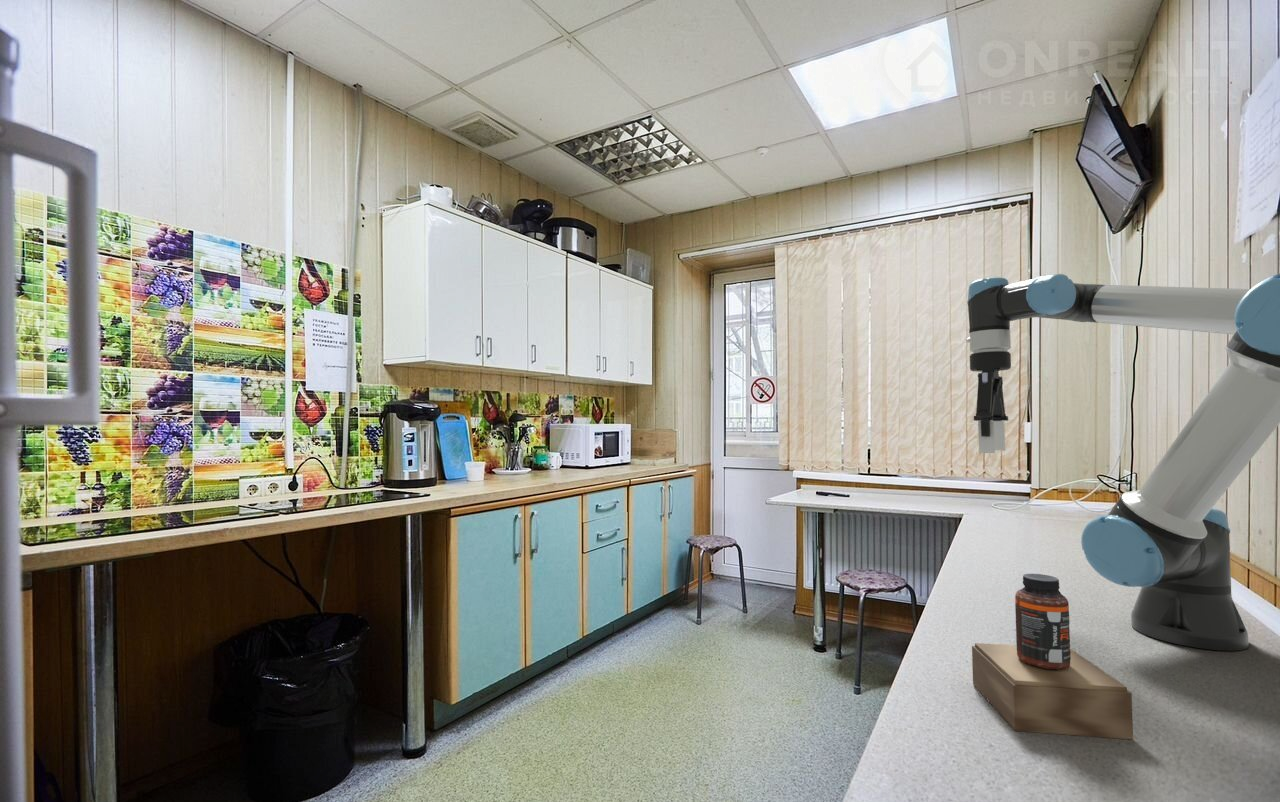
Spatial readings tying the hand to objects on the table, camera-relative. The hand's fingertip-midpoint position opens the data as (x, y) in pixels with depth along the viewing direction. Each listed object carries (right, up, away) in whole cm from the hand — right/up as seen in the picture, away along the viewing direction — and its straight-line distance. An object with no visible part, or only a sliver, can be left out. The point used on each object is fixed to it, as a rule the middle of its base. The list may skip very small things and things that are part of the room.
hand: (992, 451), depth 123 cm
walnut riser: (-21, -30, -46) cm, 59 cm away
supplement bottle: (-21, -24, -46) cm, 56 cm away
